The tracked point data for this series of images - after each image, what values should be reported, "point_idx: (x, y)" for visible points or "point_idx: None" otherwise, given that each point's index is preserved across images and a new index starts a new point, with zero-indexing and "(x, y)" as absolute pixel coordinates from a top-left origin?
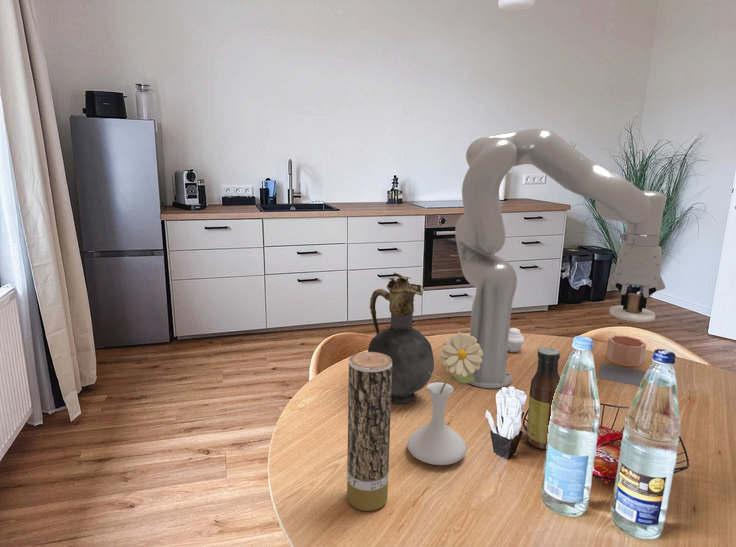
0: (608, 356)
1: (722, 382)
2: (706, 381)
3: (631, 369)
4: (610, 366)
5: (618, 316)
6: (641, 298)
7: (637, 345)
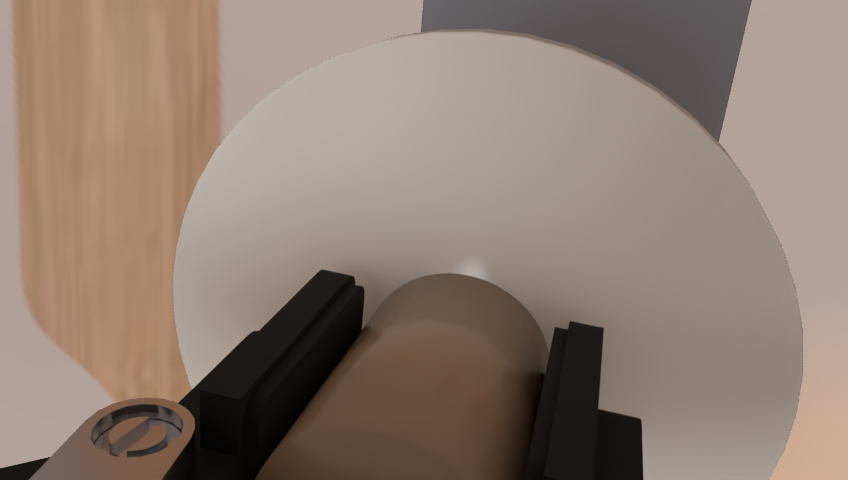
0: None
1: (45, 185)
2: (111, 167)
3: None
4: None
5: (691, 119)
6: (254, 396)
7: None
